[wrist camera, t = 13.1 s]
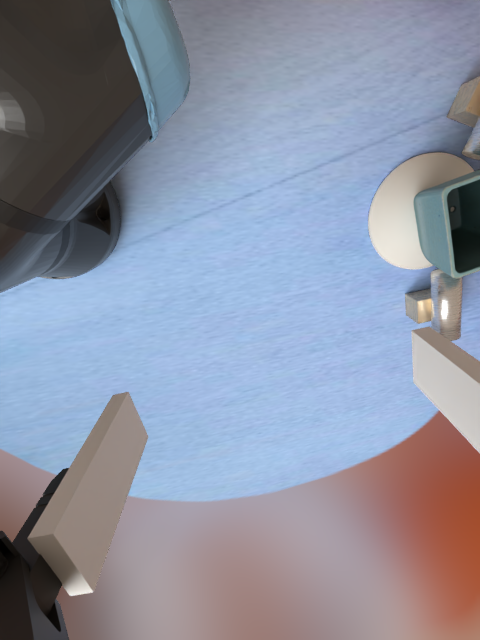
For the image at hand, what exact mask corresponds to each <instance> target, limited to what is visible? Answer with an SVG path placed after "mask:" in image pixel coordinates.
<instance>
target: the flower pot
mask: <svg viewBox="0 0 480 640" xmlns="http://www.w3.org/2000/svg"><path fill="white" fill-rule="evenodd" d="M413 203H414V211H415V217H416V223H417V230H418V237H419V242H420V247H421V250H422V253H423V255H424V256H425V258H426V259H427V260H428V261H429V262H430V263H431V264H432V265H434V266H436V267H437V268H439V269H440V270H442V271H443V272H445V273H447V274H448V275H450V276H451V277H453V278H460V277H463V276H466V275H469V274H471V273H474V272H477V271H479V270H480V169H479V170H476V171H474V172H471V173H468V174H466V175H463V176H461V177H458V178H455V179H453V180H450V181H447V182H445V183H442V184H439V185H437V186H434V187H431V188H428V189H426V190H423V191H421V192H419V193H418V194H417V195H416V196H415V197H414V202H413ZM451 207H454V211H452V212H451V211H450V210H451Z"/></svg>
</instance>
